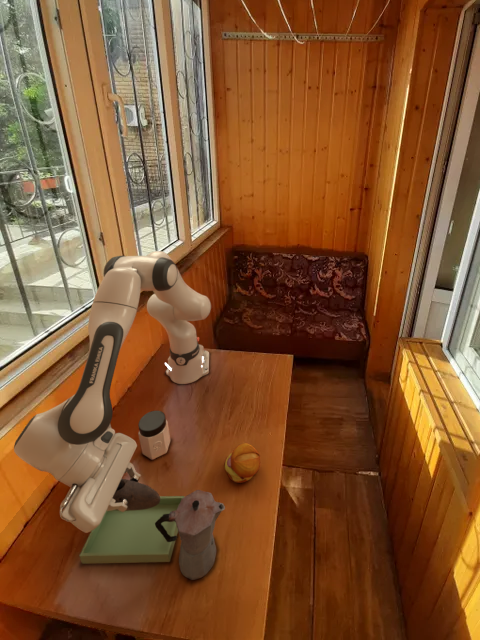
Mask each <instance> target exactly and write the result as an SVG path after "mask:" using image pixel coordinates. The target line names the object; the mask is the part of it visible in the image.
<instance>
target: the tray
mask: <svg viewBox="0 0 480 640" xmlns="http://www.w3.org/2000/svg"><path fill="white" fill-rule="evenodd" d="M159 496H160V503H159V504H158V505H156V506H154V507H152V508H149V509H143V510H129V511H124V512H121V511H119V510H111V511H107V510H106V512H105V514H104V517H103V519H102V521H101V523H100V524H99V526H98V527H96V528H95V529H94V530H92V531H90V532H89V535H88V537H87V539H86V541H85V543H84V545H83V547H82V549H81V552H80V553H79V554H78V555H79V556H78V558H79V559H80V561H81V564H83V565H84V564H130V563H138V564H139V563H170V562H171V559H172V555H173V552H174V548H175V543H176V541H172V542H167V541H166V539H165V538H164V537H163V535H162V534H161V533H160V531H158V529H157V528H156V526H155V522H156V521H158V519H160V517H162V516H163V514H170V512H171V511H176V510H177V508H178V506H179V504H180V502H181V500H182V498H184V497H185V495H165V496H164V495H163V496H162V495H159ZM161 524H162V525H163V526H164V528H165V530H166V531H167V533H168V534H169V535H170V536H177V537H178V534H179V532H178V528H177V526H176V522H175V521H173V522H163V523H161Z"/></svg>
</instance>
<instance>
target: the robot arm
mask: <svg viewBox="0 0 480 640" xmlns="http://www.w3.org/2000/svg"><path fill="white" fill-rule="evenodd" d="M103 267H104V268H103V274H102V275H103V278H102V279H101V281H100V284H99V286H98V288H97V290H96V293H95V295H94V299H93V301H92V304H91V308H90V310H89V311H90V312H89V317H88V327H87V331H88V337H89V349H88V350H89V351H88V356H87V357H86V358H87V359H86V362H85V365H84V369H83V372H82V374H81V380H80V382H79V385H78V388H77V389H76V392H75V393H74V394H73V395H71V396H70V397H68V398H67V399H66V400H64V401H63V402H61V403H59V404H58V405H55V406H54V407H52V408H50V409H48V410H46V411H44V412H41V413H37V414H35V415H34V416H32V417H31V419H30V420H29V421H28V422H27V424H26V425H25V427H24V428H23V429H22V431H21V432H20V434H19V435H18V436H17V439H15V442H14V444H13V451H14V453H15V454H16V456H18V458H19V459H20V460H22V461H23V462H25V463H26V464H27V465H29V466H31V467H32V468H35V469H36V470H38V471H40V472H45V473H48V474H50V475H52V477H54V479H55V480H56V481H58V482H60V483H61V484H64V485H65V486H66V487H67V486H68V487H69V490H68V492H67V494H66V495H65V498H64V499H63V500H62V501H61V502H60V506H59V517H60V518H61V519H62V520H64V521H66V522H68V523H70V524H72V525H73V526H74V527H75V528H77V529H78V530H80V531H82V532H83V533H85V534H88V533H91V531H92V530H94V529H95V528H96V527H98V526H99V524H100V523H101V521H102V519H103V517H104V514H105V512H106V510H107V511H111V510H116V509H118V510H119V511H121V512H124V511H125V510H126V509H127V507H128V504H129V501H126V500H125V499H123V500H122V501H121V502H120V503H115V501H116V500H114V499H113V496H114V493H115V491H116V489H117V487H118V485H119V483H120V481H121V479H123V477H124V475H125V474H126V473H127V474H128V476H129V480H131V481H135V482H140V479H141V476H142V475H141V473H139V472H137V470H136V468H135V466H134V464H133V463H132V462H131V460H132V457H133V456H134V453H135V452H136V449H137V448H138V444H137V442H136V440H135V439H133V438H132V437H130V436H128V435H126V434H124V433H122V432H116V430H115V429H114V428H112V427H111V428H109V429H107V428H108V427H109V425H110V424H111V422H112V419H113V413H114V412H113V411H114V410H113V405H112V399H111V395H110V394H111V386H112V383H113V378H114V374H115V370H116V367H117V362H118V358H119V354H120V352H121V349H122V347H123V345H124V343H125V341H126V338H127V337H128V334H129V332H130V330H131V329H132V326H133V324H134V321H135V318H136V316H137V312H138V307H139V303H140V297H141V292H153V294H152V295H150V297H149V299H148V300H147V303H146V311H147V313H148V315H149V316H150V317H152V318H153V319H155V320H156V321H157V322H158V323H160V325H161V326H162V328H163V329H164V330H165V332H166V334H167V337H168V341H169V342H168V343H169V356H168V357H167V362H164V365H165V366H166V367H167V369H166V370H165V375H166V376H168V377H169V378H170V380H171V381H172V382H173V383H175V384H178V385H187V384H191V383H194V382H196V381H198V380H199V379H200V378H202V377H204V376H206V375H208V374H209V373H210V352H209V351H208V350H205V347H204V346H203V344H199V342H200V337H199V336H197V329H196V327H195V325H194V324H193V323H191V322H195V321H196V322H197V321H202V320H205V319H207V317H208V316H209V315H210V313H211V309H212V303H211V300H210V298H209V297H208V296H207V295H204V294H201V293H199V292H197V290H194V289H193V288H191V286H189V285H188V284H187V283H186V282H185V281H184V278H183V277H182V275H181V273H180V271H179V268H178V266H177V265H176V263H175V262H174V260H173V258H171V256H170V255H169V254H168V253H166V252H164V251H162V250H154V251H151V252H149V253H148V254H146V255H117V256H113V257H111V258H110V259H108V261H107V262H106V263H105V264H104V266H103ZM92 441H93V442H92Z"/></svg>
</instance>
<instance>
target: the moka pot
mask: <svg viewBox="0 0 480 640" xmlns="http://www.w3.org/2000/svg"><path fill="white" fill-rule="evenodd" d="M225 509H226V505H224V503H223V502H219V501H216V500H215V499H214V495H213V494H212V492H209V491H204V490H201V489H196V490H194V491H193V492H191V493H189V494H187V495H186V496H185V495H184V498H182V500H181V502H180V504H179V506H178V508H177V510H176V511H171V512H170V514H163V516H162V517H160V519H158V521H156V522H155V526H156V528H157V529H158V531H160V533H161V534H162V535H163V537H164V538H165V539H166V541H167V542H172V541H175V542H176V541H177V539H178V535H179V540H180V547H179V548H180V549H179V555H178V565H179V566H178V567H179V569H180V572H181V574H182V576H184V577H185V578H187V579H188V580H191V581H194V580H199V579H201V578H203V577H205V576H206V575H208V573H209V571H211V569H212V568H213V566H214V564H215V562H216V557H217V546H216V542H215V537H214V530H215V526H216V521H217V520H218V518H219V516H220V515H221V514H222V512H223V511H224V510H225ZM173 521H175V522H176V526H177V528H178V535H177V536H170V535H169V534H168V533H167V531H166V530H165V528H164V526H163V525H162V524H161V523H163V522H173Z"/></svg>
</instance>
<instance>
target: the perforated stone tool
mask: <svg viewBox="0 0 480 640" xmlns="http://www.w3.org/2000/svg"><path fill="white" fill-rule="evenodd" d="M160 496H161V495H160V494H159V493H158V491H157V490H156V489H154V488H152V487H150V486H149V485H147V484H145V483H142V482H141V483H140V481H138V482H135V481H131V480H130V479H127V478H122V479H121V481H120V483H119V485H118V487H117V489H116V491H115V493H114V496H113V499H114V500H116V501H115V503H120V502H121V501H122V500H123V499H125V500H126V501H129V504H128V507H127V509H126V510H125V511H129V510H143V509H149V508H152V507H154V506H156V505H158V504H159V503H160ZM116 510H118V509H116Z"/></svg>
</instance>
